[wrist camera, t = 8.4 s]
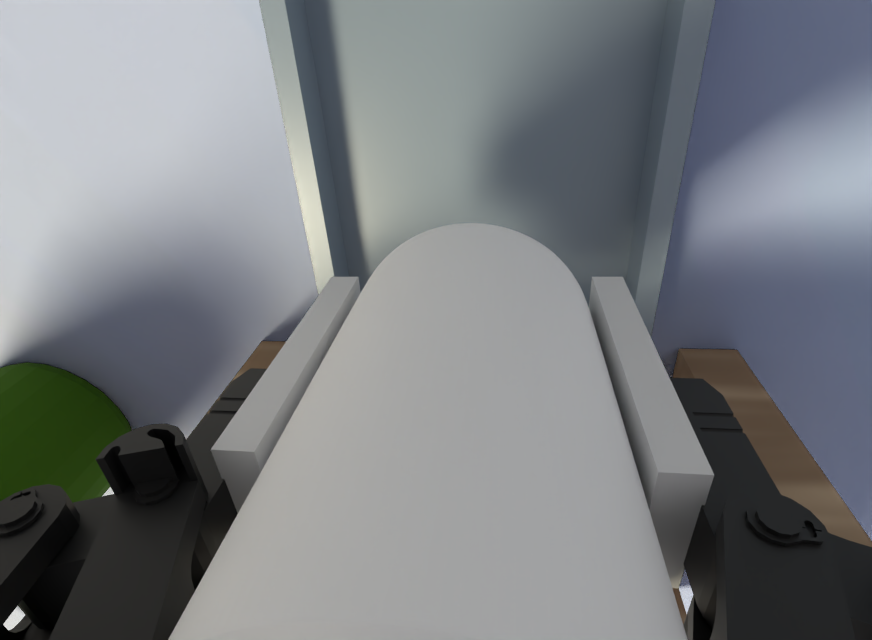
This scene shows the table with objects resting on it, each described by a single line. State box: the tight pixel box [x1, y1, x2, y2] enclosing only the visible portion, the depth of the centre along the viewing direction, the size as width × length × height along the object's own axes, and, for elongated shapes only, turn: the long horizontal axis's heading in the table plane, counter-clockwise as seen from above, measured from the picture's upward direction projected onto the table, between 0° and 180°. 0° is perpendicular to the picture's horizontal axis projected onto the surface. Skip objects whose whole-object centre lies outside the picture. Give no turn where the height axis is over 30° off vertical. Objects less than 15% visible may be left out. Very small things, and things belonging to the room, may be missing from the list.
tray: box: [259, 0, 716, 337], centre depth 17 cm, size 18×13×2 cm
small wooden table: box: [186, 341, 872, 624], centre depth 21 cm, size 18×22×16 cm
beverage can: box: [168, 223, 688, 640], centre depth 9 cm, size 6×6×12 cm
